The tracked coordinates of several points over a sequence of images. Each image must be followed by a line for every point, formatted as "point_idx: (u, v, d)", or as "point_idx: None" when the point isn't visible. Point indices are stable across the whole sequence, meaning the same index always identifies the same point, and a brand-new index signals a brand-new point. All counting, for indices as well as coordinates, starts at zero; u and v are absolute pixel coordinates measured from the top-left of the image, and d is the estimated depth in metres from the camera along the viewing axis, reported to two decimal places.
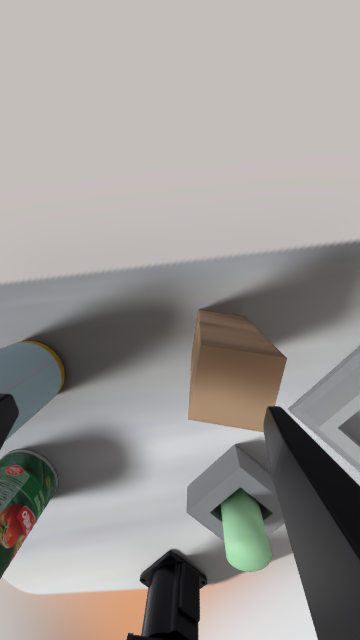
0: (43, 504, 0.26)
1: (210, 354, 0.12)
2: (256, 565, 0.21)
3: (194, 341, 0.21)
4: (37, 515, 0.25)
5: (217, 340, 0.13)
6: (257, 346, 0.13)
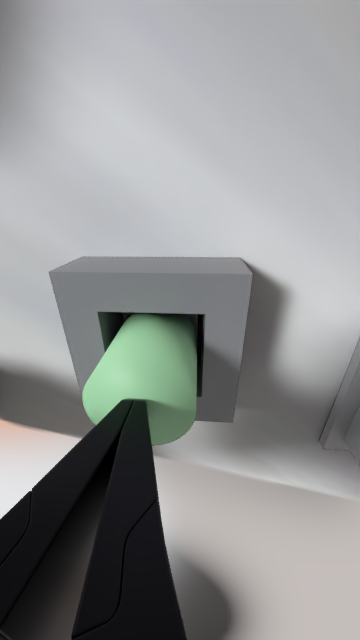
0: None
1: None
2: None
3: None
4: None
5: None
6: None
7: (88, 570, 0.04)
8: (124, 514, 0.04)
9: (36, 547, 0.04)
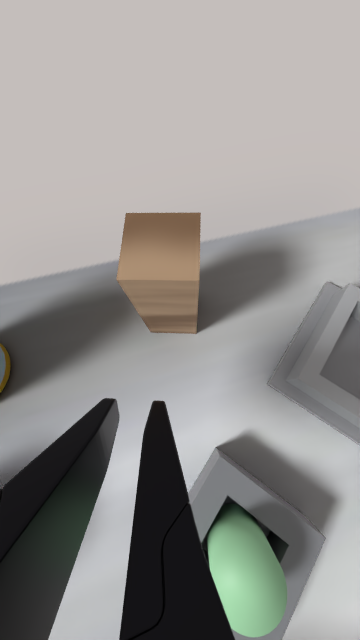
0: None
1: (134, 219, 0.14)
2: (267, 614, 0.12)
3: None
4: None
5: None
6: None
7: (128, 574, 0.04)
8: (157, 517, 0.04)
9: (0, 543, 0.04)
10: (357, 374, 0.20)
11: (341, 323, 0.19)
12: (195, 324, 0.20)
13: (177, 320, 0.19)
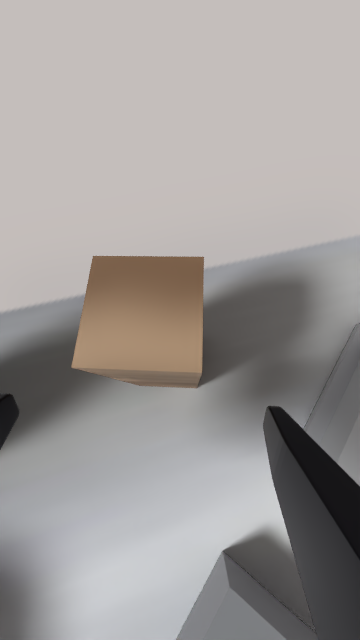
0: None
1: (104, 265, 0.09)
2: None
3: None
4: None
5: None
6: None
7: None
8: None
9: None
10: None
11: None
12: None
13: None
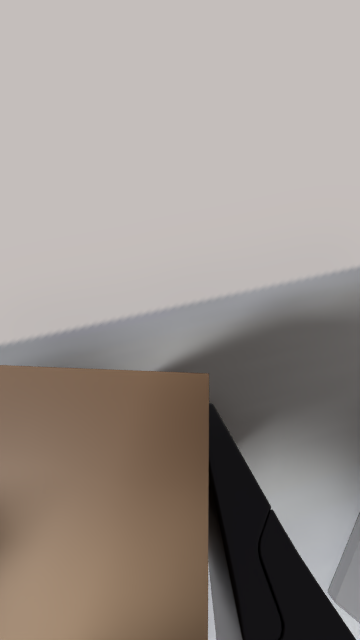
0: None
1: None
2: None
3: None
4: None
5: None
6: None
7: (233, 584, 0.03)
8: (244, 524, 0.04)
9: None
10: None
11: None
12: None
13: None
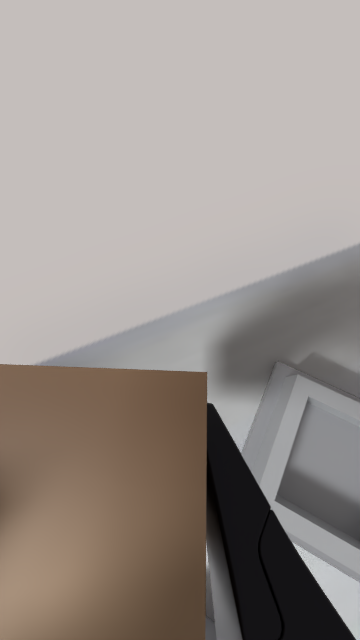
0: None
1: None
2: None
3: None
4: None
5: None
6: None
7: (233, 585, 0.03)
8: (244, 524, 0.04)
9: None
10: (320, 474, 0.18)
11: (293, 429, 0.17)
12: None
13: None
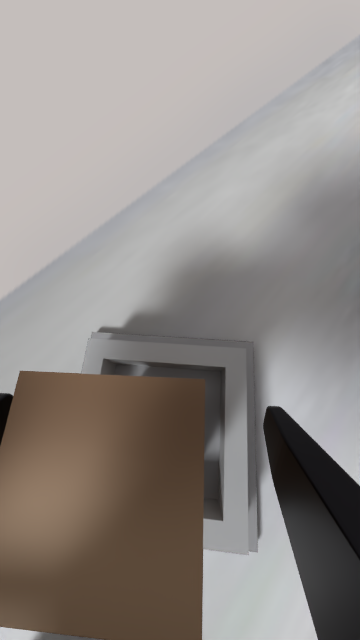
0: None
1: (37, 391, 0.05)
2: None
3: None
4: None
5: None
6: None
7: None
8: None
9: None
10: None
11: None
12: None
13: None
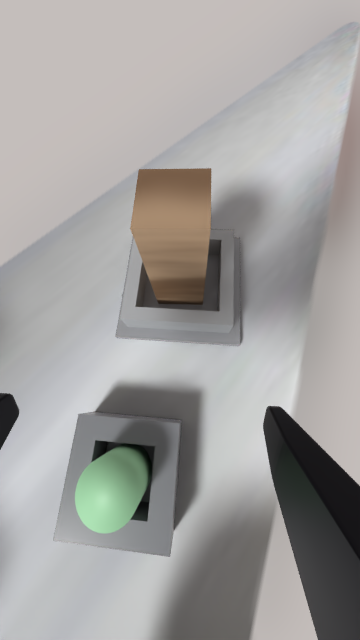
0: None
1: (147, 174, 0.14)
2: (127, 503, 0.14)
3: None
4: None
5: None
6: None
7: None
8: None
9: None
10: None
11: (139, 260, 0.22)
12: (202, 291, 0.20)
13: (185, 286, 0.20)
